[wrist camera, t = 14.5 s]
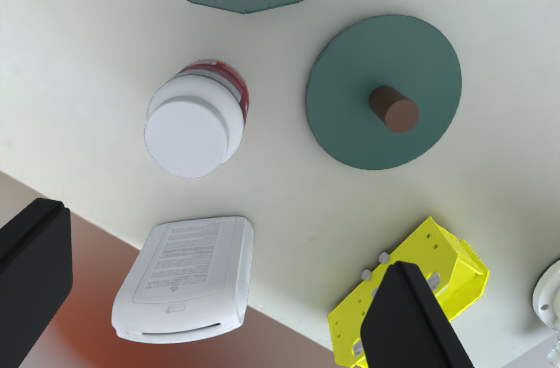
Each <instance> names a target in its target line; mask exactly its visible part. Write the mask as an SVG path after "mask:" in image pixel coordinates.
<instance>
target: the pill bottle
mask: <svg viewBox="0 0 560 368" xmlns="http://www.w3.org/2000/svg"><path fill="white" fill-rule="evenodd" d="M248 107H249V95H248V90H247V86H246V84H245V82H244V80H243V78H242V77H241V76H240V74H239V73H238V72H237V71H236V70H235V69H233V68H232V67H231V66H229V65H227V64H225V63H223V62H220V61H216V60H201V61H197V62H194V63H192V64H190V65H188V66H187V67H186V68H184V69H183V70H182V71H181V72H179V73H178V74H177V75H175V76H174V77H173V78H172V79H170V80H169V81H168V82H166V83H165V84H164V85H163V86H162V87H161V88H159V89H158V91H157V92H156V93H155V94H154V96H153V97H152V99H151V101H150V104H149V107H148V111H147V123H146V125H145V131H144V140H145V145H146V148H147V151H148V153H149V155H150V156H151V158H152V159H153V160H154V162H155V163H156V164H157V165H158V166H159V167H161V168H162V169H163V170H165V171H166V172H168V173H170V174H172V175H175V176H178V177H182V178H198V177H202V176H205V175H207V174H209V173H211V172H212V171H214V170H215V169H216V168H217V167H218V166H219V165H221V164H223V163H224V162H226V161H227V160H228V159H230V158H231V157H232V156H233V154H234V153H235V152H236V150H237V149H238V147H239V145H240V142H241V139H242V136H243V132H244V126H245V122H246V117H247V112H248Z"/></svg>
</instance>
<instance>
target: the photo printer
mask: <svg viewBox="0 0 560 368" xmlns="http://www.w3.org/2000/svg"><path fill="white" fill-rule="evenodd" d="M253 241H254V229H253V226H252V224H251V223H250V222H249V221H248V220H247V219H246V218H245V217H239V216H231V217H218V218H207V219H198V220H189V221H179V222H172V223H166V224H161V225H158V226H156V227H154V228H153V229H152V231H151V233H150V235H149V237H148V238H147V240H146V242H145V244H144V246H143V248H142V250H141V252H140V254H139V255H138V257H137V259H136V261H135V263H134V265H133V266H132V268H131V270H130V272H129V274H128V275H127V277H126V279H125V281H124V283H123V285H122V286H121V288H120V290H119V292H118V294H117V296H116V298H115V301H114V305H113V309H112V325H113V327H115V329H116V331H117V335H118V336H119V337H122V338H125V339H128V340H132V341H137V342H145V343H178V342H187V341H194V340H200V339H204V338H208V337H213V336H216V335H220V334H222V333H226V332H228V331H231V330H233V329H235V328H238V327H239V326H241V325H242V323H243V321H244V314H245V309H246V306H247V301H248V290H249V280H250V271H251V261H252V252H253Z"/></svg>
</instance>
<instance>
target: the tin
mask: <svg viewBox="0 0 560 368" xmlns="http://www.w3.org/2000/svg"><path fill="white" fill-rule="evenodd" d="M187 1H190V2H191V3H195V4H200V5H204V6H209V7H214V8H218V9H223V10H228V11H232V12H237V13H241V14H250V13H254V12H259V11H263V10H268V9H272V8H277V7H281V6H286V5H290V4H294V3H299V2H300V1H303V0H187Z"/></svg>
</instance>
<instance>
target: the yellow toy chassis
mask: <svg viewBox="0 0 560 368" xmlns="http://www.w3.org/2000/svg"><path fill="white" fill-rule="evenodd" d="M396 261H403V262H409V263H415V264H417V265H418V267H419V268H420V270H421V272H422V274H423V275H424V277H425V279H426V281H427V283H428V284H429V286H430V288H431V290H432V292H433V294H434V295H435V297H436V299H437V301H438V303H439V304H440V306H441V308H442V310H443V312H444V313H445V315H446V317H447V319H448V321H449V322H450V321H452V320H453V319H454V318H455V317H457V316H458V315H459V314H460V313H462V312H463V311H464V310H465V309H466V308H468V307H469V306H470V305H471V304H473V303H474V302H475V301H476V300H478V299H479V298H480V297H481V296H482V294H483V292H484V289H485V286H486V283H487V280H488V278H489V275H490V271H489V270H488V268H487V267H486V266H485V265H484V263H483V262H482V261H481V260H480V258H479V257H478V256H477V255H476V254H475V252H474V251H473V250H472V249H471V247H470V246H469V245H468V244H467V242H466V241H465V240H464V239H462V240H461V241H458V240H457V237H456V236H454V235H453V234H451V233H450V232H448V231H447V230H445V229H444V228H443V227H441V226H440V225H438V224H437V223H435V222H434V220H433V219H432V217H430V216H429V217H428V218H427V219H426V220H425V221H424V222H423V223H422V224H421V225H420V226H419V227H418V228H417V229H416V230H415V231H414V232H413V233H411V234H410V235H409V236H408V237H407V238H406V240H405V241H403V242H402V243H401V244H400V245H399V246H398V247H397V248H396V249H395V250H394V251H393V252H392V253H391V254H390V255H389V254H387V253H386V252H383V253H381V255H380V256H379V262H381V264H380V265H379V266H378V267H377V268H376V269H375V270H374V271H373V272H371V271H369V270H368V269H366V270H364V271H363V273H362V276H361V277H362V279H363V280H364V281H362V282H361V283H360V284H359V285H358V286H357V287H356V288H355V289H354V290H353V291H352V292H351V293H350V294H348V295H347V296H346V298H345V299H344V300H343V301H342V302H341V303H340V304H339V305H338V306H337V307H336V308H335V309H334V310H333V311H332V312H331V313H330V314H329V315H328V316H327V317H328V322H329V328H330V334H331V340H332V346H333V351H334V357H335V363H336V364H338V365H342V366H347V367H351V368H353V367H354V366H355V365H356V364H357V365H359V366H361V367H363V368H368V365H367V361H366V357H365V353H364V349H363V346H362V342H361V338H360V328H361V324H362V322H363V320H364V318H365V316H366V313H367V311H368V309H369V307H370V305H371V303H372V300H373V298H374V296H375V294H376V292H377V289H378V287H379V285H380V283H381V281H382V279H383V276H384V274H385V272H386V270H387V268H388V266H389V265H390V264H393V265H394V263H395V262H396Z"/></svg>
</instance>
